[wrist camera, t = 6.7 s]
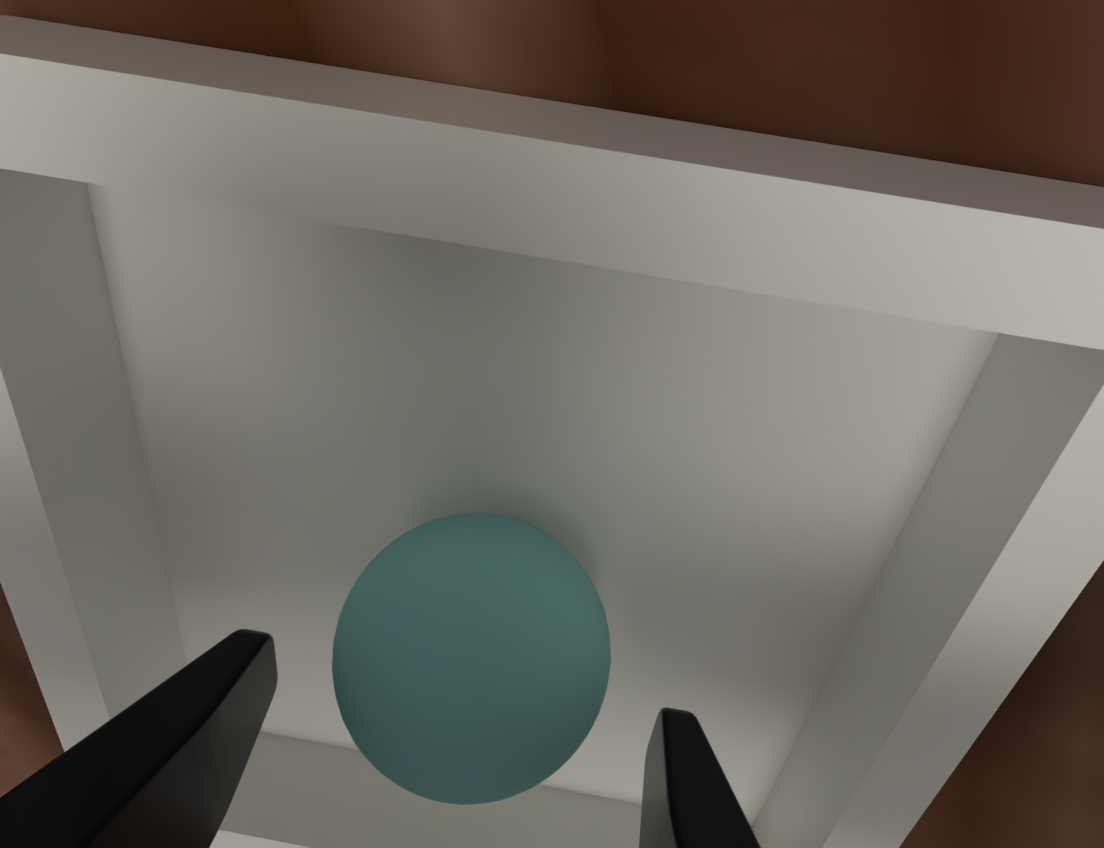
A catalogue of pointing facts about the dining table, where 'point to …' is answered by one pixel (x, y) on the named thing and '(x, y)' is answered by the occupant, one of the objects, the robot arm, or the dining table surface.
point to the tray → (536, 420)
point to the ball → (471, 658)
